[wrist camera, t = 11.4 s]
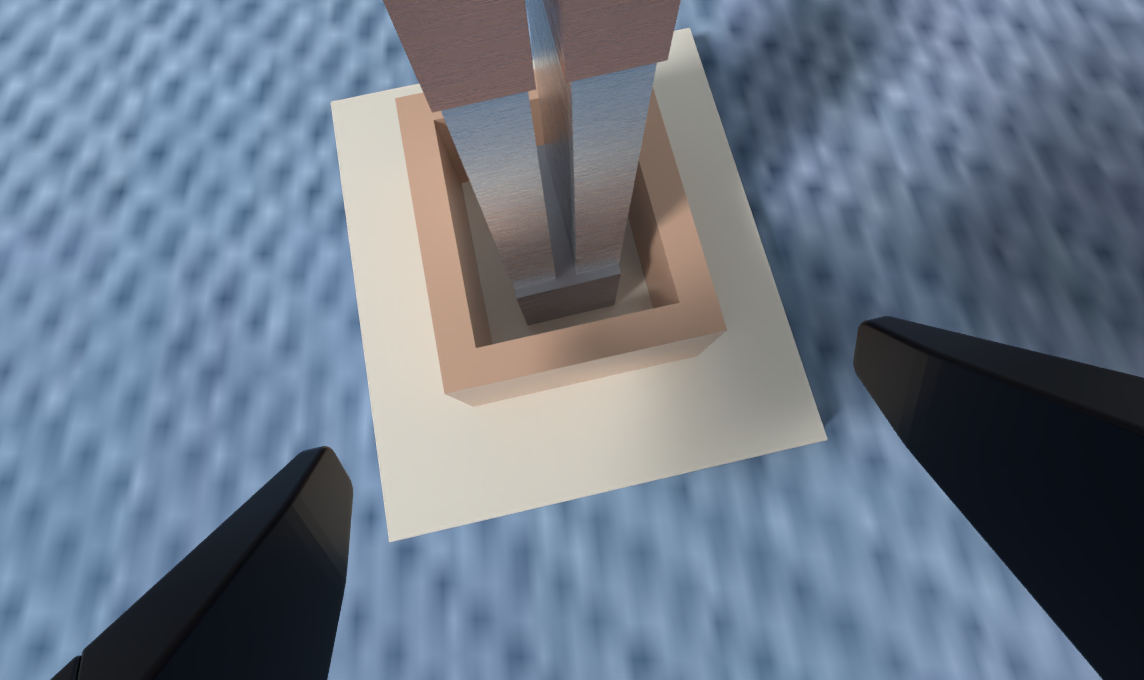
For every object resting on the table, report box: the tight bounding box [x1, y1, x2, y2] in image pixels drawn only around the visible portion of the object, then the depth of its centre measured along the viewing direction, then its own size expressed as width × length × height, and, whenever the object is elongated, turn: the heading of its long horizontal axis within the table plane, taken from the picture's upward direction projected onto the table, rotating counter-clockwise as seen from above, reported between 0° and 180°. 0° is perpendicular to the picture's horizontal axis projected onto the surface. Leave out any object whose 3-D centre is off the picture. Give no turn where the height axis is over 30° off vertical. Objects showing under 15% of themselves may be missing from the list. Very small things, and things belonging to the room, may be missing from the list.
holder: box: [331, 28, 828, 542], centre depth 16 cm, size 16×14×5 cm
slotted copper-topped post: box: [383, 0, 680, 325], centre depth 11 cm, size 4×3×13 cm
